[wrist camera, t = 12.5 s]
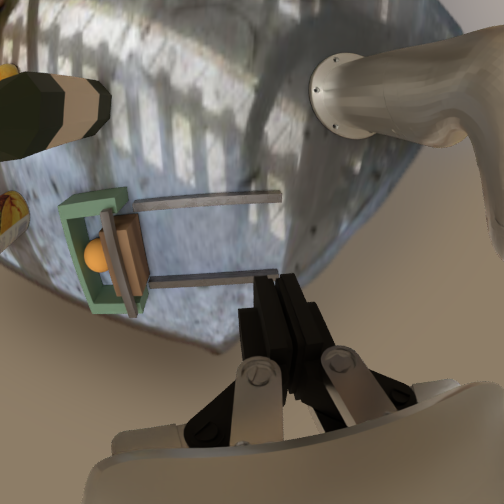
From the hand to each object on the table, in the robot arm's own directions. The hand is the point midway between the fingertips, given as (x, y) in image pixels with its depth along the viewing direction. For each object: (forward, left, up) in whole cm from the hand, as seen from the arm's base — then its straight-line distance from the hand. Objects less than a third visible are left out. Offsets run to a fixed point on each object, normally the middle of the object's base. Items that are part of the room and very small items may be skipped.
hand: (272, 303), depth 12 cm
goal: (+20, +10, -27) cm, 35 cm away
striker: (+16, +10, -27) cm, 33 cm away
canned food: (+38, +2, -27) cm, 47 cm away
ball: (+21, +10, -25) cm, 34 cm away
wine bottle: (+20, -11, -27) cm, 36 cm away
